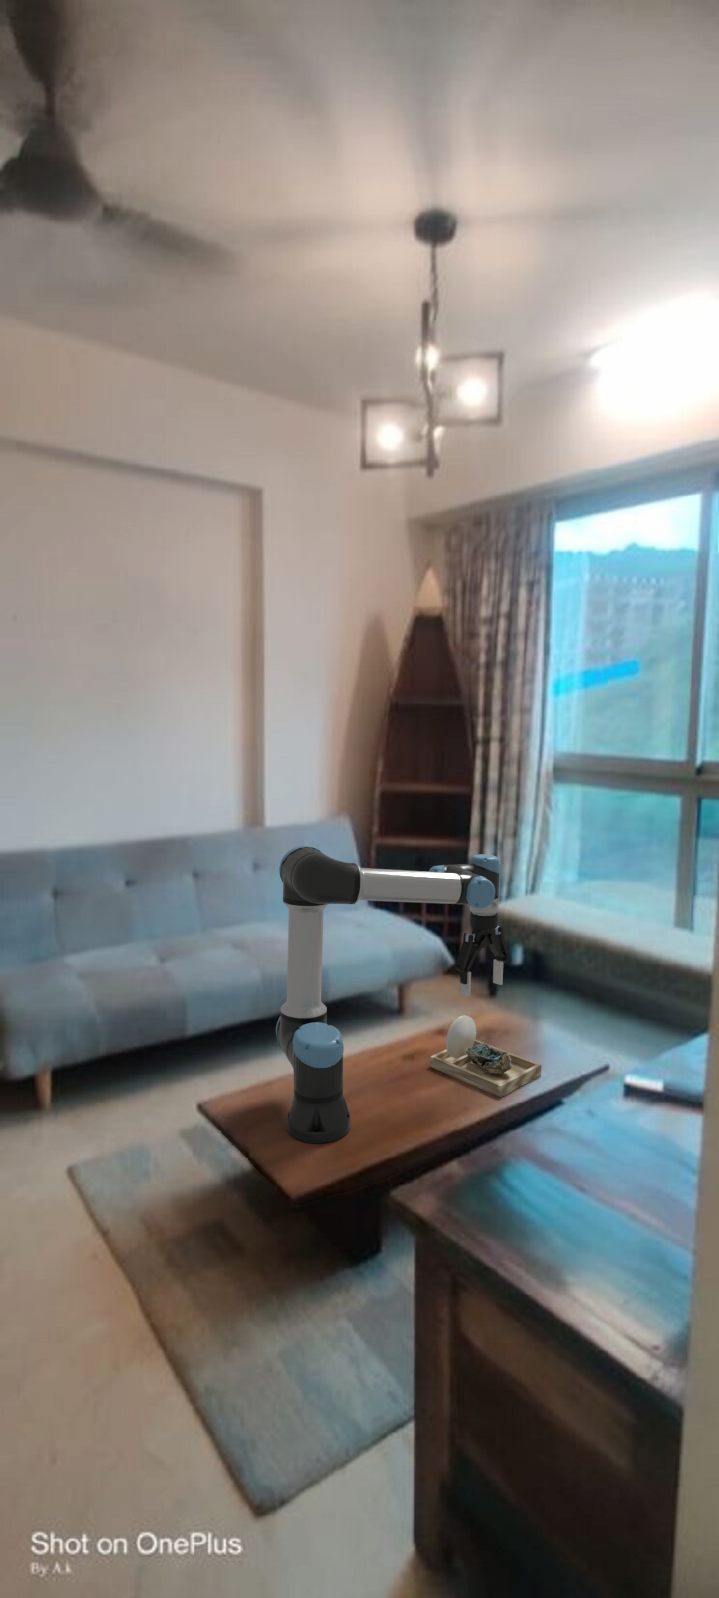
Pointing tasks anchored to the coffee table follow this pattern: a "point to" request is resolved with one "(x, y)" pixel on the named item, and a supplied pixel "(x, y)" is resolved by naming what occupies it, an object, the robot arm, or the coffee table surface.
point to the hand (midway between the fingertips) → (482, 989)
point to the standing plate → (460, 1036)
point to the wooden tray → (491, 1083)
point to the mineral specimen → (489, 1059)
